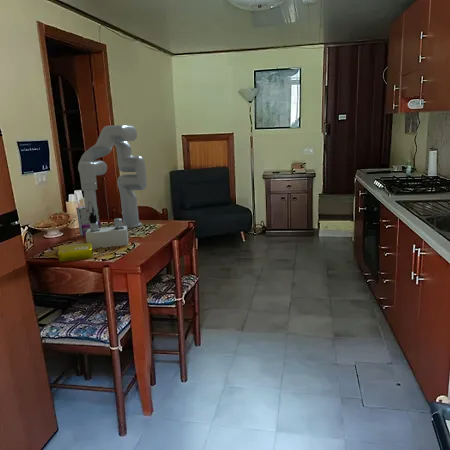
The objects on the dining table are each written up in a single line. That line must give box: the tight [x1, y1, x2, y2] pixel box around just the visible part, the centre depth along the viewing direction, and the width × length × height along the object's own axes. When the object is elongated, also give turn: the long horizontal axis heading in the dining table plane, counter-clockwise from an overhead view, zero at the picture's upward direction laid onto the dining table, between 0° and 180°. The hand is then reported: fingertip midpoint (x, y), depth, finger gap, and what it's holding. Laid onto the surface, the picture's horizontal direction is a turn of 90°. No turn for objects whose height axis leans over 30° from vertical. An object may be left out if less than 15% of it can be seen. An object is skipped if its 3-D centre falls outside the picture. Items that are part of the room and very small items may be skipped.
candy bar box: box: [75, 205, 102, 237], centre depth 237 cm, size 11×5×16 cm, turn 131°
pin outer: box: [90, 222, 99, 232], centre depth 211 cm, size 4×4×6 cm
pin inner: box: [113, 217, 123, 230], centre depth 213 cm, size 4×4×6 cm
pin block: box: [85, 226, 129, 249], centre depth 214 cm, size 10×20×8 cm, turn 101°
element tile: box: [57, 242, 94, 263], centre depth 197 cm, size 15×15×5 cm
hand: (93, 222), depth 210 cm, fingers closed
